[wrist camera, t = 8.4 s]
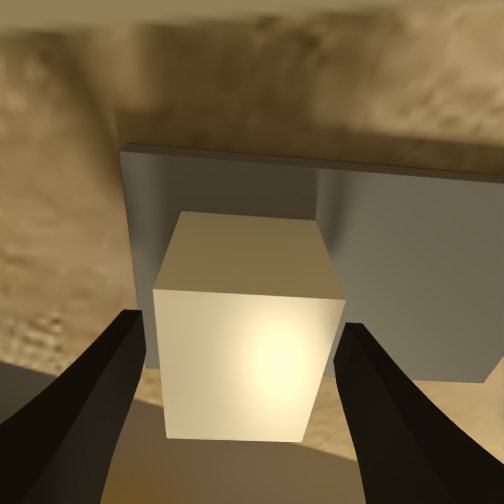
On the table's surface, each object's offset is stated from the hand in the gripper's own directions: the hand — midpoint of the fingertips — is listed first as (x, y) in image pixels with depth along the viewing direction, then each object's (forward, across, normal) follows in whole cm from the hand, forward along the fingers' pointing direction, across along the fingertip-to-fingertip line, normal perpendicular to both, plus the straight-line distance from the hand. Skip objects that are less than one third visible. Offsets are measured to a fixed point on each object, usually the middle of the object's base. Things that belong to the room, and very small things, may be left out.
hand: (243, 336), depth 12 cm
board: (+4, -4, 0) cm, 6 cm away
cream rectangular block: (+3, 0, 0) cm, 3 cm away
